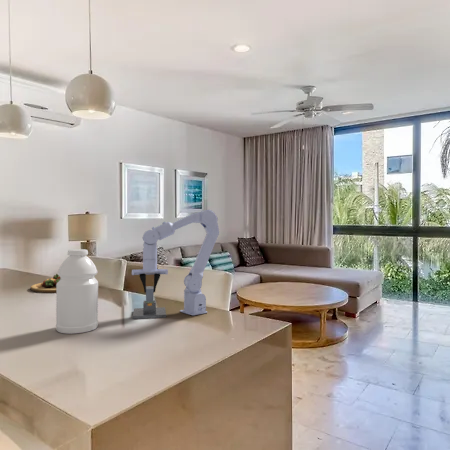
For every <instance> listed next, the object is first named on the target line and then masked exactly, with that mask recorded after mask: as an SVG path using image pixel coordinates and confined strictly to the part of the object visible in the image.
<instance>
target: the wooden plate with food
mask: <svg viewBox="0 0 450 450" xmlns="http://www.w3.org/2000/svg"><path fill="white" fill-rule="evenodd" d="M60 279H61V277H60V276H59V275H58V274H57V273H56V274H54V275H53V276H52V277H49V278H47V279H45V280H43V282H38V283H34V284H32V285H31V286H30V290H31V292H36V293H42V294H44V293H46V294H56V284H57V282H59V280H60Z"/></svg>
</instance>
